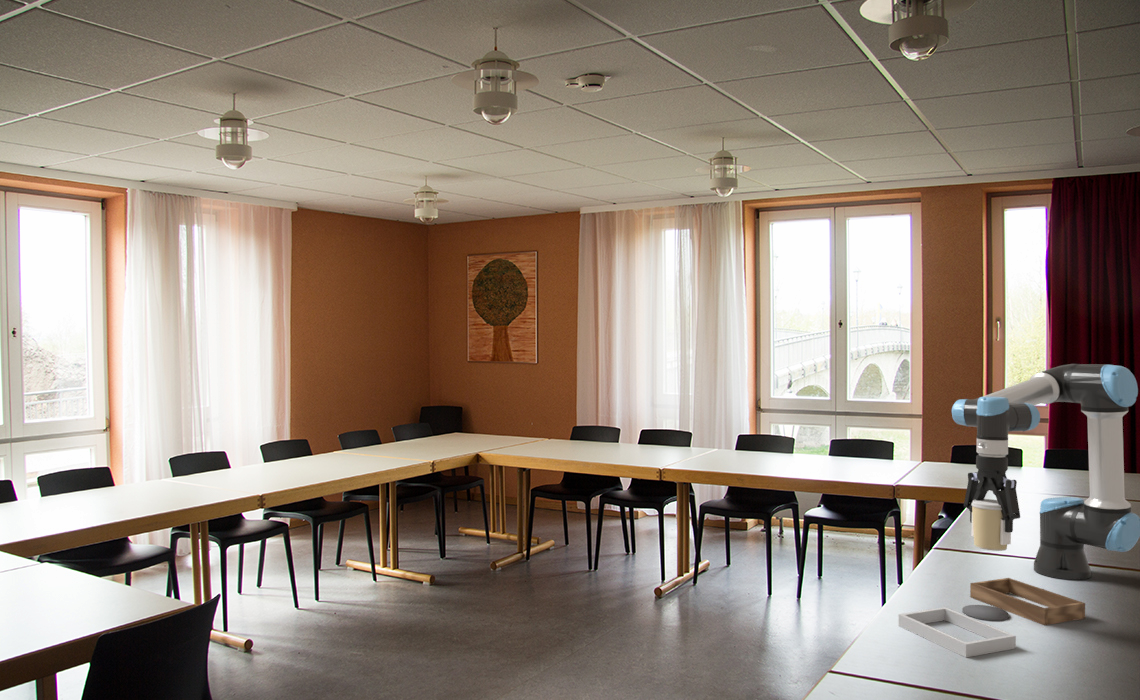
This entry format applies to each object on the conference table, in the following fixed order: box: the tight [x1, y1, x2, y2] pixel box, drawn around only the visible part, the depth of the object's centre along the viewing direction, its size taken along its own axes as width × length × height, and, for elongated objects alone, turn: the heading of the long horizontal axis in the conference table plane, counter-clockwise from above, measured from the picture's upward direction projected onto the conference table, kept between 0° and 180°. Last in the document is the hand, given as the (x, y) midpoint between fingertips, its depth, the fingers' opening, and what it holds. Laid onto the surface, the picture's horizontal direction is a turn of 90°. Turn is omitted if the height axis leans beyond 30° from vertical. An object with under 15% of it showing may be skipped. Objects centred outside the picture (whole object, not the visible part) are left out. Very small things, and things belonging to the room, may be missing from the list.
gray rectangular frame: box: [898, 606, 1017, 658], centre depth 205 cm, size 15×22×3 cm
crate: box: [969, 577, 1086, 626], centre depth 225 cm, size 14×24×4 cm, turn 19°
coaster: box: [962, 604, 1010, 622], centre depth 221 cm, size 11×11×1 cm
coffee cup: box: [972, 498, 1008, 552], centre depth 221 cm, size 9×9×12 cm
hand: (990, 540), depth 221 cm, fingers closed on coffee cup, 9 cm apart
